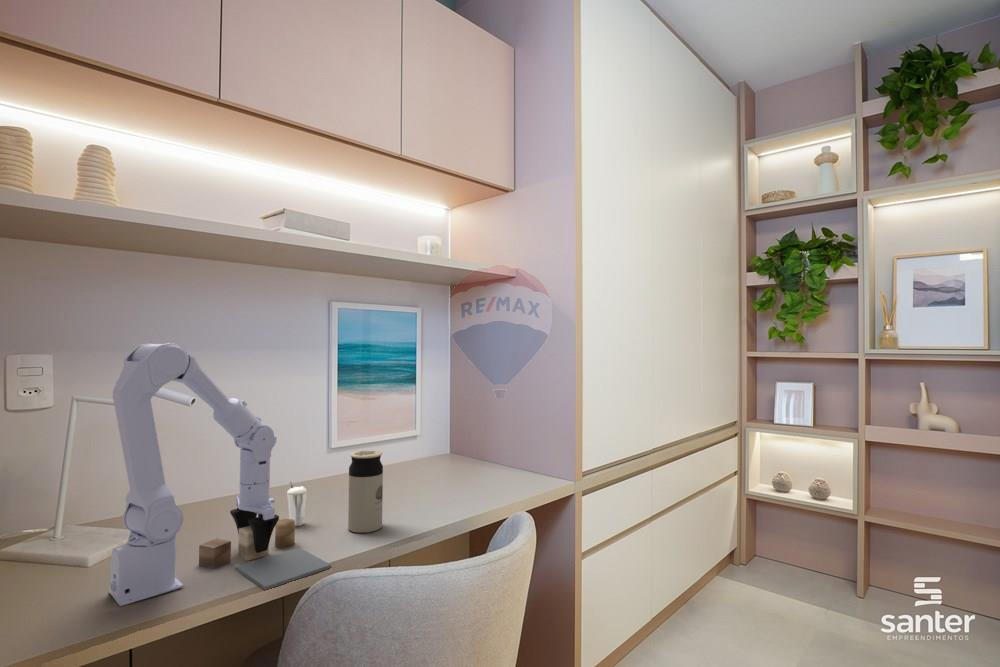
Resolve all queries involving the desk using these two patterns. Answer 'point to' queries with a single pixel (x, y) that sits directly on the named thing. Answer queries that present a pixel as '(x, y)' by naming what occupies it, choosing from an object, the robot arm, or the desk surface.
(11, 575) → the desk surface
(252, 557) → the maple block
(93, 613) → the desk surface
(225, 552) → the walnut cube
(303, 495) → the milkshake
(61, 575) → the desk surface
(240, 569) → the mat
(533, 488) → the desk surface
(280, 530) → the oak cylinder
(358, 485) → the travel mug
